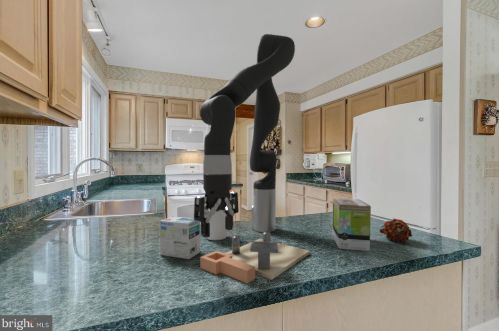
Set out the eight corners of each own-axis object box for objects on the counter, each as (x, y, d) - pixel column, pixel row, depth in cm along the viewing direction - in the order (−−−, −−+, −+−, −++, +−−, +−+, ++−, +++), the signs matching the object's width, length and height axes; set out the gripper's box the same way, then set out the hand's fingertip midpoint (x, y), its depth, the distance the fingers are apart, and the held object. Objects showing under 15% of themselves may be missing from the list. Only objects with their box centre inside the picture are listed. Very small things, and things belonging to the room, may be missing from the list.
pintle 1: (230, 253, 73) (230, 236, 73) (235, 251, 75) (235, 234, 75) (236, 255, 72) (236, 238, 71) (241, 252, 73) (241, 236, 73)
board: (216, 260, 71) (216, 256, 71) (259, 241, 87) (259, 238, 87) (271, 279, 59) (271, 275, 59) (309, 254, 75) (309, 250, 75)
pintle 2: (261, 248, 77) (261, 232, 77) (265, 246, 79) (265, 231, 79) (267, 250, 75) (267, 234, 75) (271, 248, 77) (271, 232, 77)
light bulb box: (201, 251, 77) (201, 218, 77) (189, 260, 71) (189, 223, 71) (172, 248, 81) (172, 215, 80) (159, 255, 74) (158, 220, 74)
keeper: (252, 260, 68) (252, 241, 68) (277, 261, 67) (277, 242, 67) (250, 268, 62) (250, 247, 62) (277, 270, 62) (277, 249, 62)
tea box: (371, 251, 77) (371, 205, 77) (337, 249, 79) (338, 204, 79) (359, 237, 92) (360, 198, 92) (331, 235, 94) (332, 197, 94)
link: (200, 268, 65) (200, 257, 65) (216, 261, 70) (216, 250, 70) (243, 286, 56) (243, 273, 56) (258, 276, 60) (258, 264, 60)
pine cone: (406, 251, 81) (384, 244, 93) (424, 236, 82) (401, 231, 94) (389, 230, 82) (370, 226, 94) (408, 215, 83) (387, 213, 95)
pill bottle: (230, 235, 94) (230, 197, 93) (219, 242, 86) (219, 200, 86) (213, 233, 97) (213, 195, 97) (201, 239, 90) (201, 198, 89)
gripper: (225, 171, 73) (226, 225, 73) (187, 173, 62) (187, 237, 62) (245, 172, 68) (245, 229, 68) (207, 173, 57) (207, 242, 57)
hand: (217, 233), depth 65 cm, fingers open, 8 cm apart
